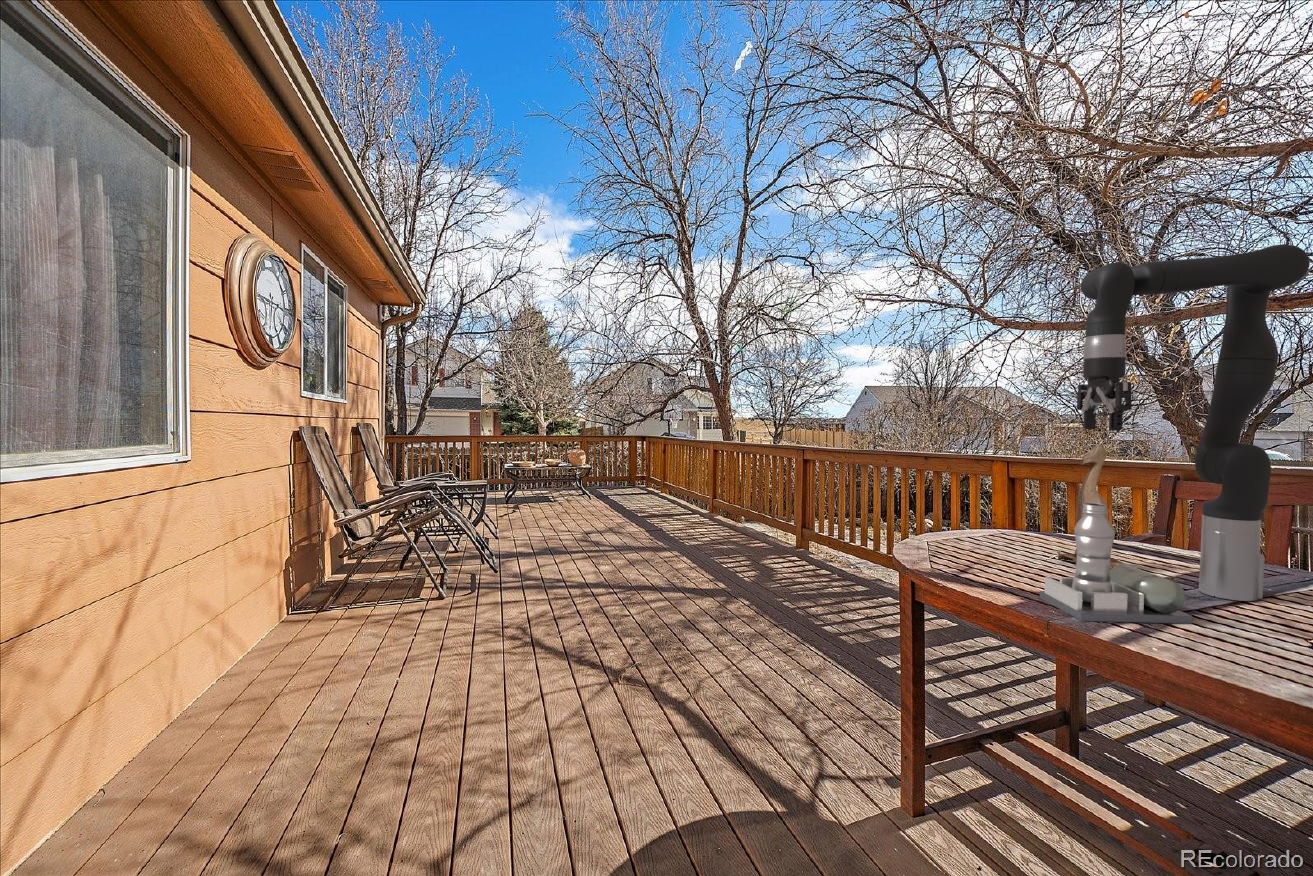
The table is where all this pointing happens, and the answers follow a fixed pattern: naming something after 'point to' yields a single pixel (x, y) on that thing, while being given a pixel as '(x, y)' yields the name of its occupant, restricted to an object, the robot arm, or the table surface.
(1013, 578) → the table surface
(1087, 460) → the bird sculpture
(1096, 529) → the plastic bottle
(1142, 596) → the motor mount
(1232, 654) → the table surface
